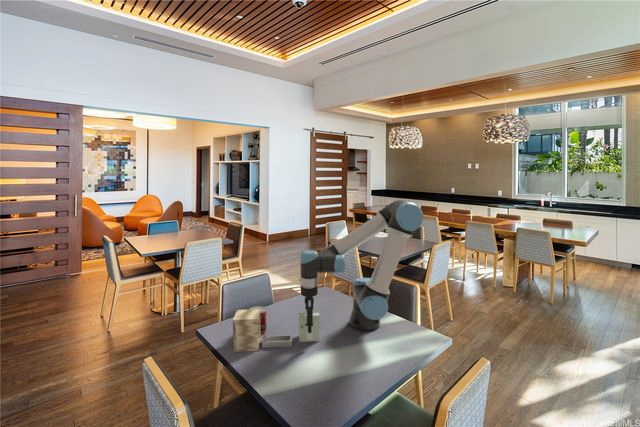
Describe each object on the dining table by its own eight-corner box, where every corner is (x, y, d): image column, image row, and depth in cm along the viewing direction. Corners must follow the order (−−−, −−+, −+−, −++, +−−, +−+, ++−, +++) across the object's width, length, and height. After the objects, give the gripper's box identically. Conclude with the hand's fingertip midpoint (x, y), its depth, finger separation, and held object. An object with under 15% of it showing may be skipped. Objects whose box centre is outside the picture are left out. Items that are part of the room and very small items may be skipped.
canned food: (263, 336, 150) (262, 313, 149) (246, 334, 152) (246, 312, 150) (268, 328, 157) (268, 306, 156) (253, 327, 159) (252, 305, 158)
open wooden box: (260, 338, 148) (259, 309, 146) (257, 350, 138) (257, 319, 136) (238, 339, 147) (237, 309, 145) (233, 351, 137) (232, 319, 135)
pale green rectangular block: (318, 337, 149) (319, 312, 147) (319, 342, 145) (319, 316, 144) (299, 338, 148) (299, 313, 147) (299, 342, 145) (299, 316, 143)
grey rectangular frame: (292, 340, 146) (292, 334, 146) (291, 346, 141) (291, 341, 141) (263, 341, 146) (263, 335, 145) (262, 347, 140) (262, 342, 140)
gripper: (300, 277, 156) (300, 319, 159) (300, 296, 131) (300, 346, 134) (316, 276, 157) (316, 318, 159) (319, 296, 132) (319, 345, 134)
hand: (309, 331), depth 147 cm, fingers open, 13 cm apart
